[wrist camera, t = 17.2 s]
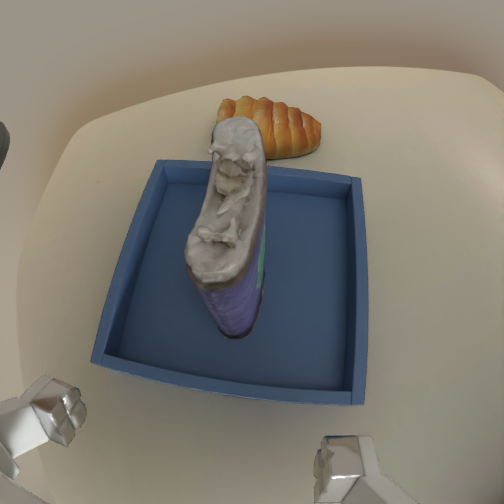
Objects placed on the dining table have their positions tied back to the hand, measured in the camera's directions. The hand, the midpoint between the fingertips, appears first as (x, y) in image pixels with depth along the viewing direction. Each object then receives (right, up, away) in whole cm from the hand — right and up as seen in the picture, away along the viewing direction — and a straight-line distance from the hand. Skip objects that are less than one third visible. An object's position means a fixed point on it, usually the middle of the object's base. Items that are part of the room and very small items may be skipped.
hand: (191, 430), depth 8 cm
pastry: (+3, +16, +19) cm, 25 cm away
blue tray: (+1, +4, +12) cm, 13 cm away
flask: (+1, +4, +12) cm, 13 cm away
